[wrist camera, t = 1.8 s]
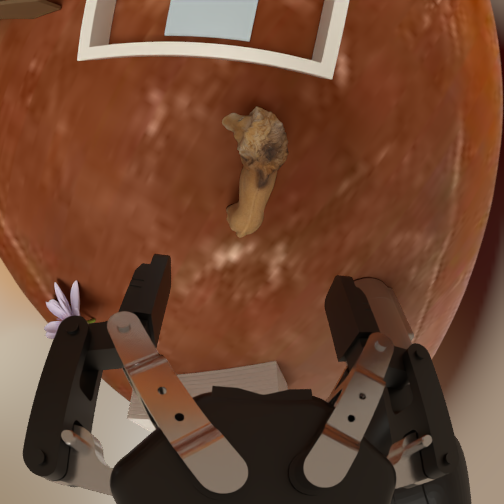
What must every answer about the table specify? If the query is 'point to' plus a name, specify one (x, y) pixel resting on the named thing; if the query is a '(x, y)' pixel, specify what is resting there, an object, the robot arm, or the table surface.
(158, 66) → the table surface
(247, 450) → the robot arm
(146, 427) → the stack of papers
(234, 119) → the lion figurine
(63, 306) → the water lily
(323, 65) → the low pen
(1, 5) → the photo frame
